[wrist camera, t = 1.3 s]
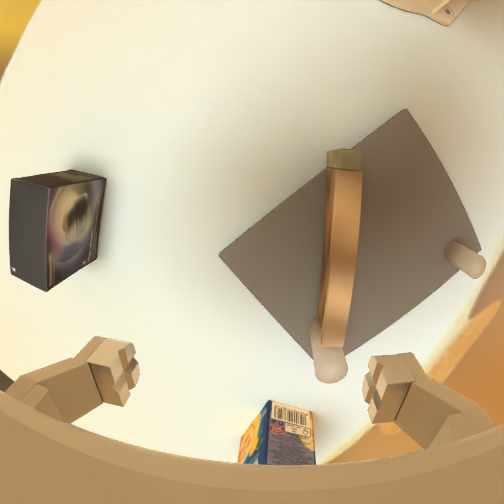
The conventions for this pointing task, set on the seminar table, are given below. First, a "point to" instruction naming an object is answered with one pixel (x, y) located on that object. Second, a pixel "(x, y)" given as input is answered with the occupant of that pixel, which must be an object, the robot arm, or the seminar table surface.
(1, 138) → the seminar table surface
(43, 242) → the small box
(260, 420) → the beverage box
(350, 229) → the gate
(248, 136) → the seminar table surface
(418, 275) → the grey board with posts
